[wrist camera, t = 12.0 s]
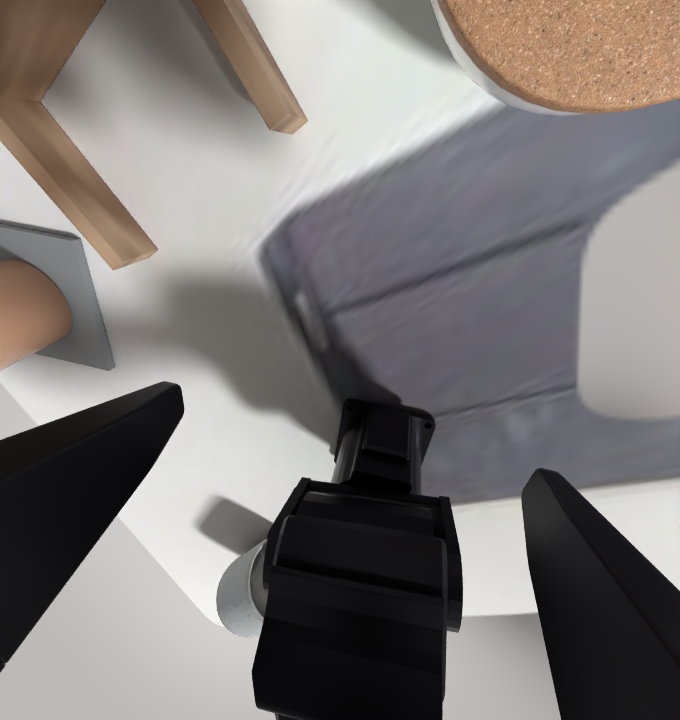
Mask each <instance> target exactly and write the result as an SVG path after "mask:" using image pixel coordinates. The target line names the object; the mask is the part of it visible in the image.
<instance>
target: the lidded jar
mask: <svg viewBox="0 0 680 720" xmlns="http://www.w3.org/2000/svg"><path fill="white" fill-rule="evenodd" d="M431 3H432V6H433V9H434V12H435V15H436V18H437V21H438V24H439V27H440V30H441V33H442V36H443V38H444V40H445V42H446V43H447V45H448V47H449V49H450V51H451V53H452V55H453V57H454V59H455V60H456V61H457V63H458V64H459V65H460V67H461V68H462V69H463V70H464V72H465V73H466V74H467V76H468V77H469V78H470V79H471V80H472V81H473V82H474V83H475V84H477V85H478V86H479V87H480V88H481V89H482V90H484V91H485V92H486V93H487V94H488V95H490V96H492V97H494V98H496V99H497V100H499V101H501V102H503V103H505V104H507V105H509V106H512V107H515V108H518V109H522V110H525V111H528V112H532V113H540V114H549V115H559V116H568V115H581V114H595V113H608V112H621V111H629V110H633V109H638V108H642V107H646V106H650V105H655V104H659V103H663V102H667V101H672V100H675V99H679V98H680V0H431Z"/></svg>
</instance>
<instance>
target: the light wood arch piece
mask: <svg viewBox="0 0 680 720" xmlns="http://www.w3.org/2000/svg"><path fill="white" fill-rule="evenodd" d="M105 1H106V0H0V141H1V142H2V143H3V144H4V145H5V147H6V148H7V149H8V150H9V151H10V152H11V154H12V155H13V156H14V157H15V158H16V159H17V160H18V162H19V163H20V164H21V165H22V166H23V167H24V168H25V170H26V171H27V172H28V173H29V174H30V175H31V177H32V178H33V179H34V180H35V181H36V182H37V183H38V185H39V186H40V187H41V188H42V189H43V190H44V191H45V193H46V194H47V195H48V196H49V197H50V198H51V200H52V201H53V202H54V203H55V204H56V205H57V206H58V208H59V209H60V210H61V211H62V212H63V213H64V214H65V216H66V217H67V218H68V219H69V220H70V221H71V223H72V224H73V225H74V226H75V227H76V228H77V229H78V231H79V232H80V233H81V234H82V235H83V236H84V237H85V239H86V240H87V241H88V242H89V243H90V244H91V245H92V247H93V248H94V249H95V250H96V251H97V252H98V254H99V255H100V256H101V257H102V258H103V259H104V260H105V262H106V263H107V264H108V265H109V266H110V267H111V268H112V270H116V269H118V268H121V267H124V266H127V265H130V264H132V263H135V262H138V261H141V260H143V259H146V258H149V257H150V256H151V255H152V254H154V253H155V252H156V251H157V250H158V249H157V247H156V246H155V245H154V244H153V242H152V241H151V240H150V239H149V237H148V236H147V235H146V234H145V232H144V231H143V230H142V229H141V227H140V226H139V225H138V224H137V222H136V221H135V220H134V219H133V217H132V216H131V215H130V214H129V212H128V211H127V210H126V209H125V207H124V206H123V205H122V204H121V202H120V201H119V200H118V199H117V197H116V196H115V195H114V194H113V192H112V191H111V190H110V189H109V187H108V186H107V185H106V184H105V182H104V181H103V180H102V179H101V177H100V176H99V175H98V174H97V172H96V171H95V170H94V169H93V167H92V166H91V165H90V164H89V162H88V161H87V160H86V159H85V157H84V156H83V155H82V154H81V152H80V151H79V150H78V149H77V147H76V146H75V145H74V144H73V142H72V141H71V140H70V139H69V137H68V136H67V135H66V134H65V132H64V131H63V130H62V129H61V127H60V126H59V125H58V124H57V122H56V121H55V120H54V119H53V117H52V116H51V115H50V114H49V112H48V111H47V110H46V109H45V107H44V106H43V105H42V104H41V102H40V100H41V99H42V97H43V96H44V94H45V93H46V91H47V90H48V88H49V87H50V85H51V84H52V82H53V81H54V79H55V78H56V76H57V74H58V73H59V71H60V70H61V68H62V67H63V65H64V64H65V62H66V61H67V59H68V58H69V56H70V55H71V53H72V52H73V50H74V48H75V47H76V45H77V44H78V42H79V41H80V39H81V38H82V36H83V35H84V33H85V32H86V30H87V29H88V27H89V26H90V24H91V22H92V21H93V19H94V18H95V16H96V15H97V13H98V12H99V10H100V9H101V7H102V6H103V4H104V3H105ZM193 2H194V4H195V5H196V7H197V9H198V10H199V12H200V14H201V15H202V17H203V19H204V20H205V22H206V24H207V25H208V27H209V29H210V30H211V32H212V34H213V35H214V37H215V39H216V40H217V42H218V44H219V46H220V47H221V49H222V51H223V52H224V54H225V56H226V57H227V59H228V61H229V62H230V64H231V66H232V67H233V69H234V71H235V72H236V74H237V76H238V77H239V79H240V81H241V82H242V84H243V86H244V88H245V89H246V91H247V93H248V94H249V96H250V98H251V99H252V101H253V103H254V104H255V106H256V108H257V109H258V111H259V113H260V114H261V116H262V118H263V119H264V121H265V123H266V124H267V126H268V128H269V130H274V131H278V132H283V133H288V134H293V133H294V132H295V131H297V130H298V129H299V128H300V127H301V126H302V125H304V124H305V123H306V122H307V121H308V120H307V118H306V116H305V114H304V113H303V111H302V109H301V107H300V105H299V104H298V102H297V100H296V98H295V96H294V94H293V93H292V91H291V89H290V87H289V85H288V84H287V82H286V80H285V78H284V76H283V75H282V73H281V71H280V69H279V67H278V66H277V64H276V62H275V60H274V58H273V56H272V55H271V53H270V51H269V49H268V47H267V46H266V44H265V42H264V40H263V38H262V37H261V35H260V33H259V31H258V29H257V28H256V26H255V24H254V22H253V20H252V18H251V17H250V15H249V13H248V11H247V9H246V8H245V6H244V4H243V2H242V0H193Z"/></svg>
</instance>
